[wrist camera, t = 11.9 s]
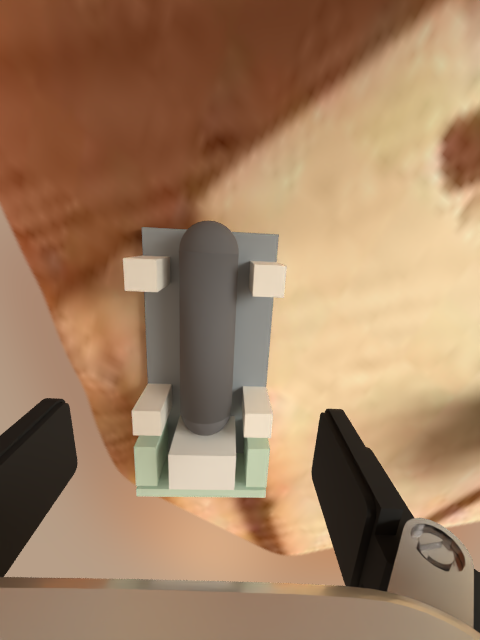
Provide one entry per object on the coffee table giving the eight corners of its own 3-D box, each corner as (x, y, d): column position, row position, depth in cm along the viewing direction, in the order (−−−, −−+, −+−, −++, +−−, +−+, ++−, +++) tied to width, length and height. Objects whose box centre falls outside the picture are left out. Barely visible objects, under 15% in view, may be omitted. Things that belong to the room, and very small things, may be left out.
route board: (276, 235, 22) (289, 232, 17) (259, 451, 27) (265, 497, 22) (145, 227, 21) (120, 223, 16) (153, 450, 26) (136, 496, 22)
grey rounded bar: (178, 221, 20) (163, 214, 16) (244, 224, 20) (249, 219, 16) (180, 444, 25) (168, 489, 20) (233, 445, 25) (234, 489, 21)
